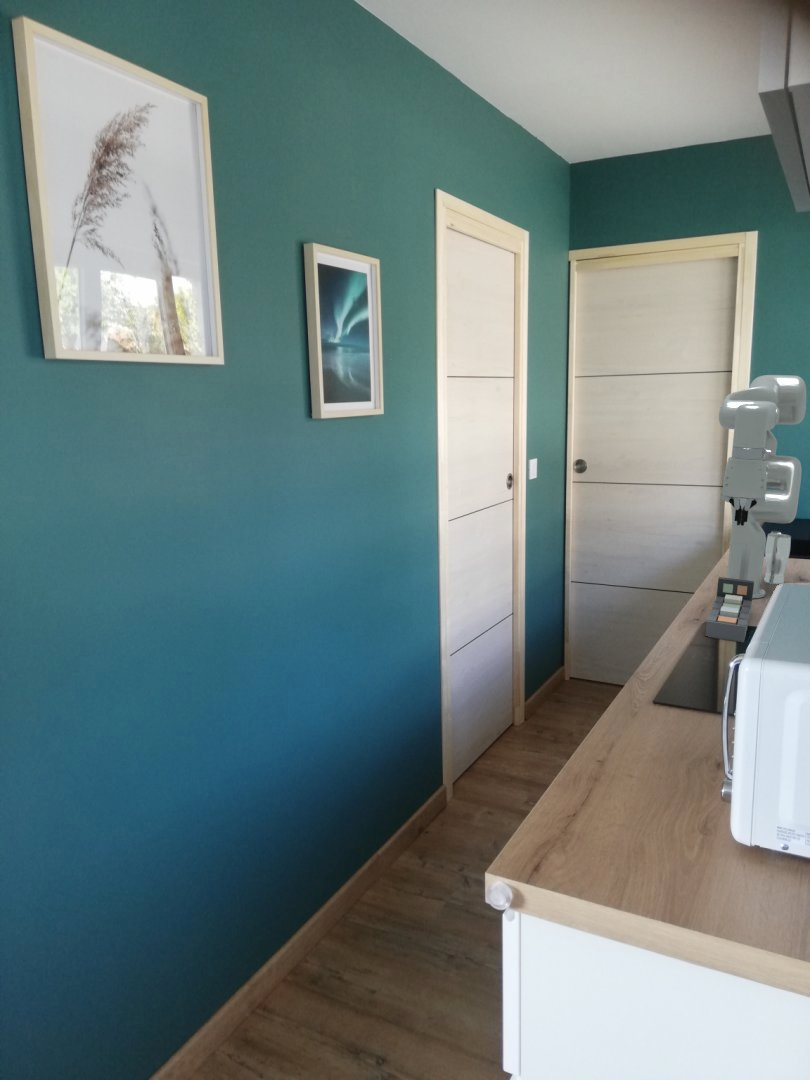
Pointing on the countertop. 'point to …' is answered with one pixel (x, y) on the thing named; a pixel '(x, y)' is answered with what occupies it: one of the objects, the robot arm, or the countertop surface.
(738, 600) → the key cream
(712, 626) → the keypad
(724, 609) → the key grey
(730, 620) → the key terracotta
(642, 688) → the countertop surface
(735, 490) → the robot arm
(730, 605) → the key sage
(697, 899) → the countertop surface
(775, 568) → the beer glass
